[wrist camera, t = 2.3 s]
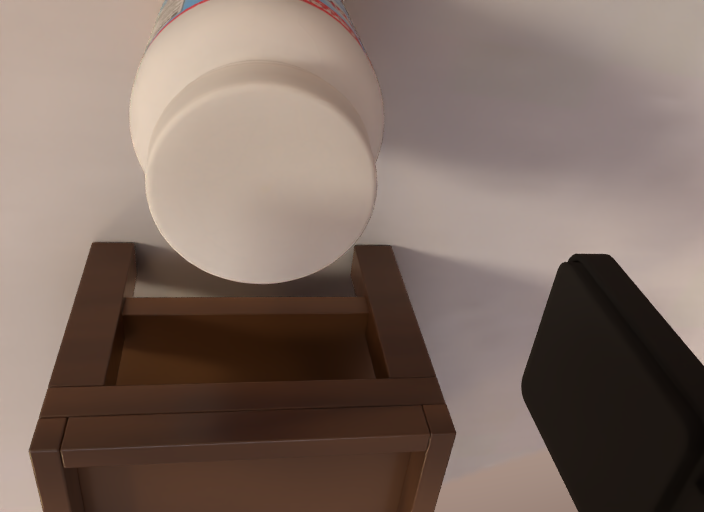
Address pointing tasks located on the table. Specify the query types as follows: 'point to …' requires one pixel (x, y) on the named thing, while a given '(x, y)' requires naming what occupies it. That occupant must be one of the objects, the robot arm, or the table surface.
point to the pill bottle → (257, 134)
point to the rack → (241, 400)
